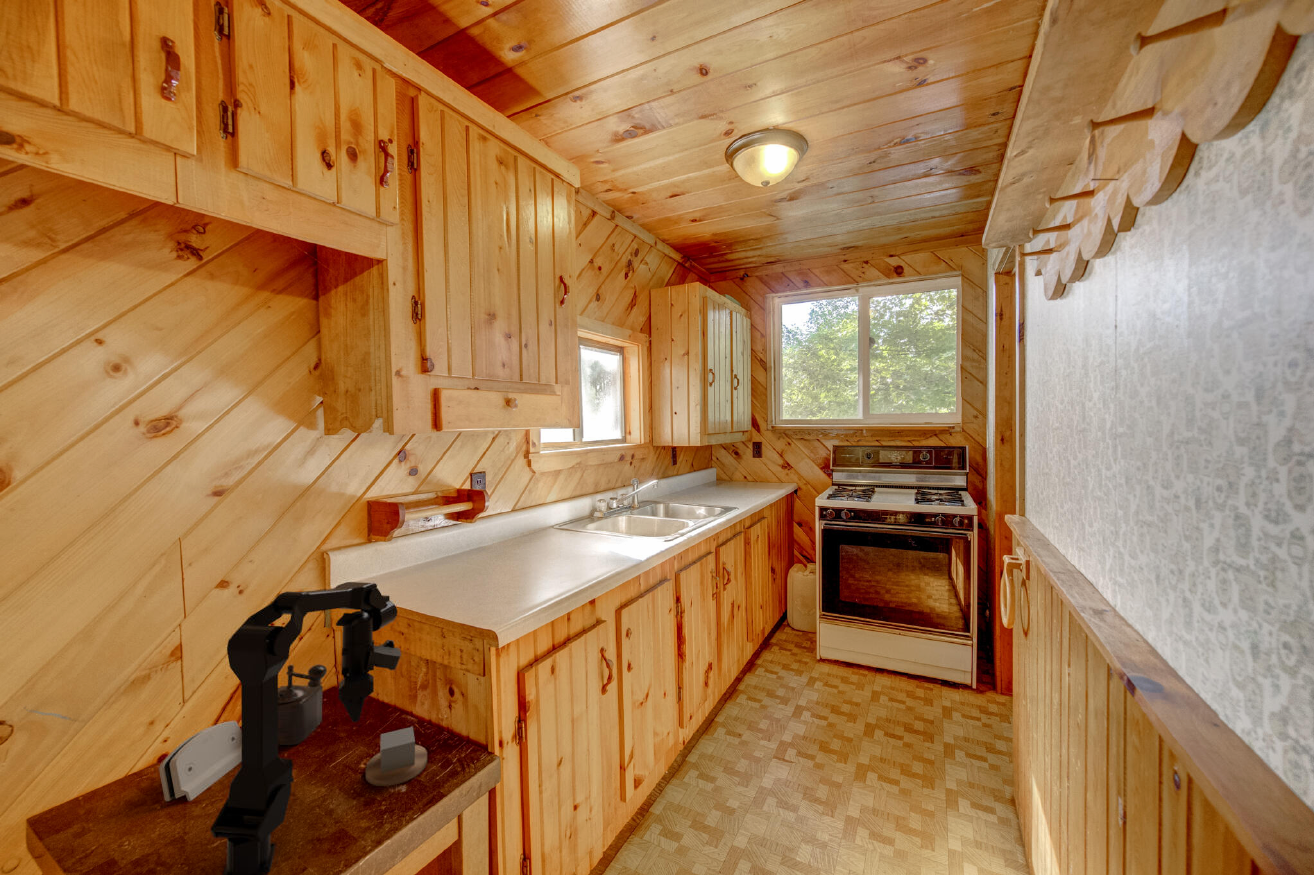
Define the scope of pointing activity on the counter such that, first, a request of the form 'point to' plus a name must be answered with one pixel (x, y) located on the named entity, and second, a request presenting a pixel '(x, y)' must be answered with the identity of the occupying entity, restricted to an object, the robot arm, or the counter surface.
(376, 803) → the counter surface
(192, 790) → the grey napkin holder
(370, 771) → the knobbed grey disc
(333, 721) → the counter surface
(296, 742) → the dark grey coffee grinder
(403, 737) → the grey block
